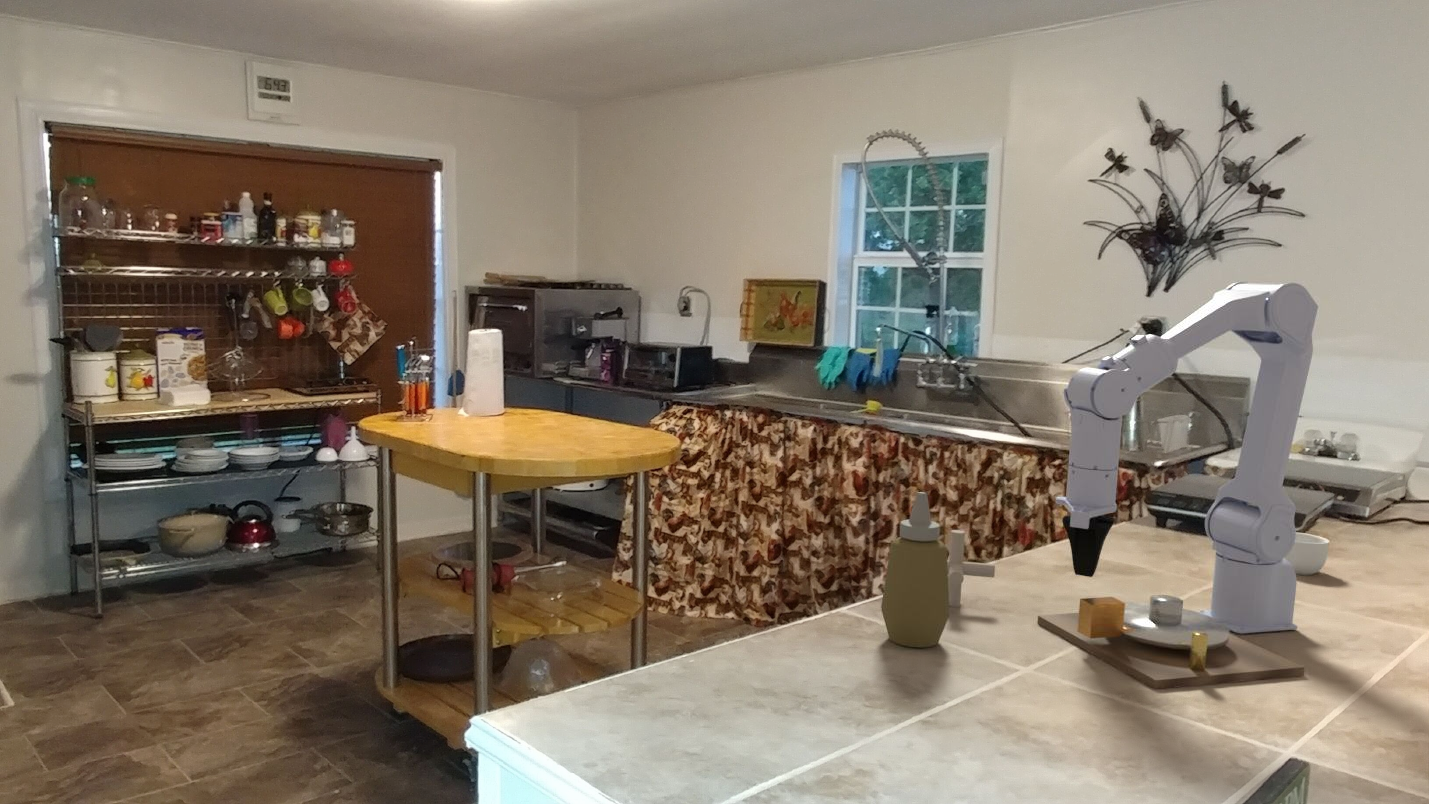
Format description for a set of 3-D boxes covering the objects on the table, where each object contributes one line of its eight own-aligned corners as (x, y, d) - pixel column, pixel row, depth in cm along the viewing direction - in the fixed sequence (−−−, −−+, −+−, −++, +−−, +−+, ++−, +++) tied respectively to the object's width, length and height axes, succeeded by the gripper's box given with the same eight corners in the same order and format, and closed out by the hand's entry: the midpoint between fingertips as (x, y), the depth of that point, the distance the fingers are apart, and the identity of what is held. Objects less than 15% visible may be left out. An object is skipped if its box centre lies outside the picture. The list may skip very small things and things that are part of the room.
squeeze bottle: (907, 656, 119) (916, 502, 117) (865, 634, 126) (873, 488, 124) (962, 647, 123) (971, 497, 121) (918, 626, 130) (927, 484, 128)
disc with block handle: (1172, 607, 134) (1174, 577, 133) (1256, 645, 120) (1259, 611, 120) (1048, 616, 129) (1051, 584, 128) (1122, 656, 115) (1125, 621, 115)
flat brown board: (1168, 614, 139) (1169, 599, 138) (1303, 675, 118) (1305, 658, 117) (1037, 623, 133) (1038, 607, 133) (1154, 689, 112) (1156, 671, 112)
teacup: (1332, 572, 163) (1335, 538, 162) (1317, 581, 158) (1321, 546, 157) (1263, 558, 170) (1267, 526, 170) (1247, 566, 165) (1250, 533, 164)
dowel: (1197, 665, 117) (1200, 631, 116) (1208, 670, 115) (1211, 635, 115) (1185, 666, 116) (1188, 632, 116) (1196, 672, 115) (1199, 636, 114)
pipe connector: (993, 619, 134) (999, 543, 133) (914, 612, 136) (919, 537, 135) (989, 597, 143) (994, 526, 142) (915, 590, 145) (920, 520, 144)
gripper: (1070, 455, 136) (1062, 556, 137) (1047, 470, 123) (1038, 582, 124) (1127, 461, 132) (1118, 565, 134) (1110, 478, 120) (1101, 593, 121)
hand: (1084, 574), depth 129 cm, fingers closed
